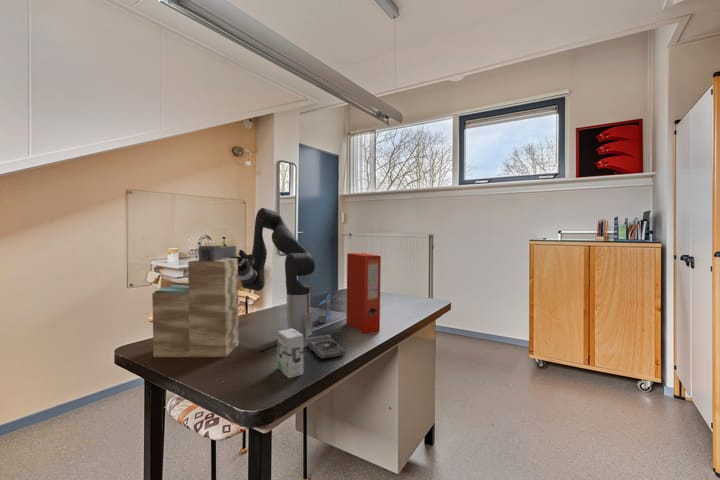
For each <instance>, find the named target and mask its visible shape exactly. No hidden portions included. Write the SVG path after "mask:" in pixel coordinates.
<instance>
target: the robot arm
mask: <svg viewBox="0 0 720 480" xmlns="http://www.w3.org/2000/svg"><path fill="white" fill-rule="evenodd" d="M264 228H265V229H268V230H271V231H272V234H271V241H272V243H273V245H274V246H275V248H276V249H277V250H278V251H280V252H281V253H282V254H284V255H286V257H285V259H284V271H285V272H284V273H285V274H284V275H285V288H286V330H287V329H291V328H293V329H294V330H296V331H298V332H299V333H301V334H302V335H303V339H306V338H310V336H312V335H313V311H312V310H311V287H310V285H308V284H306V283H302V282H300V281H299V280H298V277H302V276H303V277H304V276H310V275H312V274H313V273H314V272H315V270H316V269H315V268H316V264H315V260H314V257H313V256H312V254H311V253H310V251H308V249H306V248H305V247H304V246H302V244H301V243H300V242H299V240H298V239H297V238H296V237H295V235H294V234H293V233H292V231H291V230H290V229H289V228H288V226H287V225H286V224H285V222H284V219H283V218H282V216H281V214H280V213H279V212H277V211H275V210H271V209H268V208H264V207H262V208H260V209H259V210H258V211H257V213H256V216H255V221H254V231H253V244H252V246H253V247H252V252H251V253H249V254H247V253H246V252H245V251H244V250H242V249H239V252H238V256H237V255H236V256H234V257H229V258H238V279H239V280H240V283H241V287H242V288H244V289H246V290H251V291H257V292H259V291H262V290H263V289H264V287H265V284H266V282H265V281H266V280H265V266H266V260H267V255H268V253H267V252H268V251H267V247H266V244H265V240H264V237H263V231H264V230H263V229H264ZM306 340H307V339H306Z"/></svg>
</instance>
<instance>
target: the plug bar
mask: <svg viewBox="0 0 720 480" xmlns="http://www.w3.org/2000/svg"><path fill="white" fill-rule="evenodd" d="M236 246H237V245H226V246H221V245H199V246H198V259H199V261H218V260H220V259H225V258H229V257H236V256H237V255H236V254H237V249H236V248H237V247H236Z"/></svg>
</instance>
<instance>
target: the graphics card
mask: <svg viewBox="0 0 720 480" xmlns="http://www.w3.org/2000/svg"><path fill="white" fill-rule="evenodd" d="M303 348H309V350H310V351H313V353H314V354H315V355H316V356H317V357H318V358H320V359H323V360H324V359H325V358H326V359H327V358H335V357H338V356H341V355H346V349H344V348H343V347H342V346H341V345H340V344H339V343H338V342H337V341H335V340H334V339H333V338H332V337H331V334H330V333H329V334H326V335H319V336H318V335H317V336H312V337H308V338H306V339H303Z"/></svg>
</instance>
